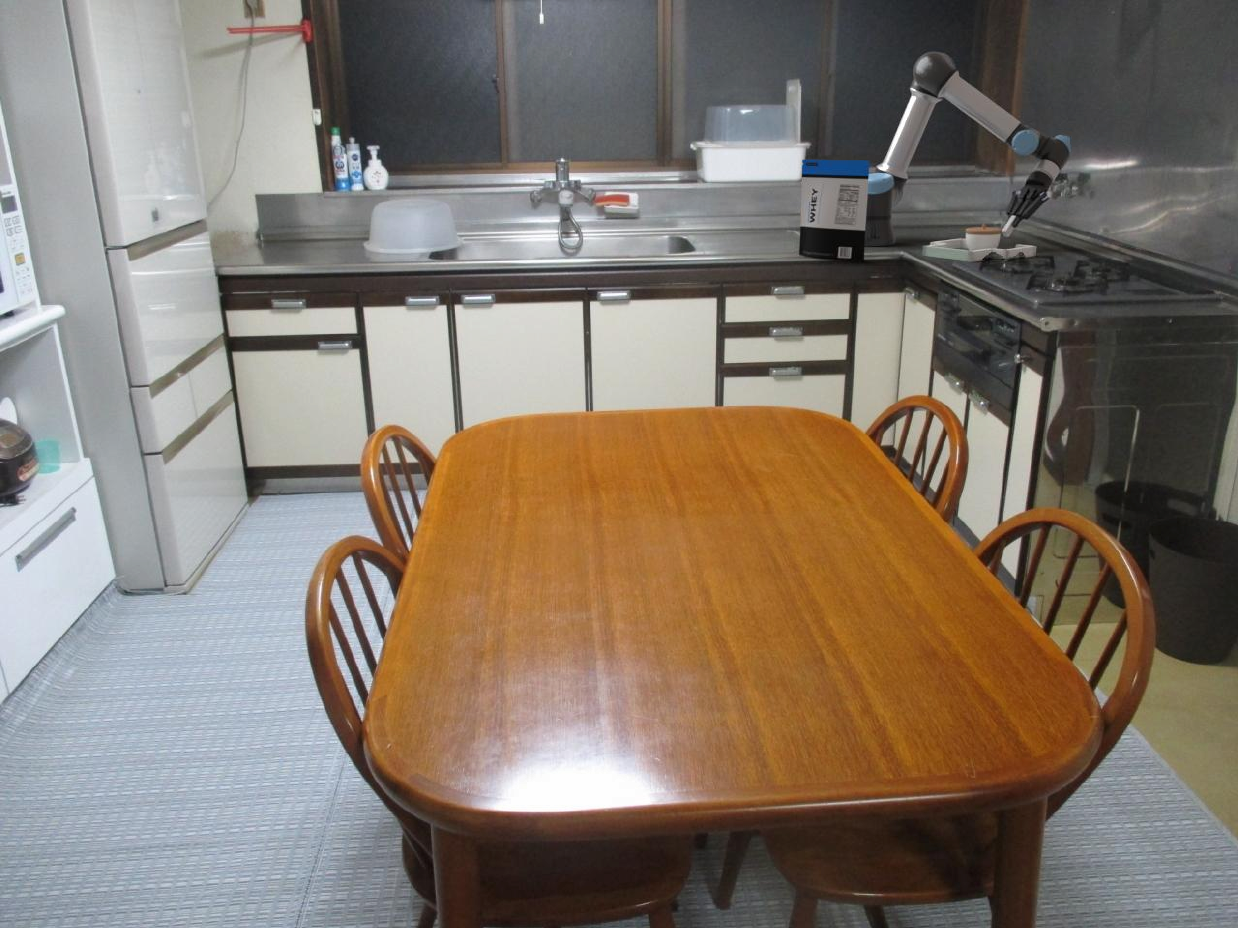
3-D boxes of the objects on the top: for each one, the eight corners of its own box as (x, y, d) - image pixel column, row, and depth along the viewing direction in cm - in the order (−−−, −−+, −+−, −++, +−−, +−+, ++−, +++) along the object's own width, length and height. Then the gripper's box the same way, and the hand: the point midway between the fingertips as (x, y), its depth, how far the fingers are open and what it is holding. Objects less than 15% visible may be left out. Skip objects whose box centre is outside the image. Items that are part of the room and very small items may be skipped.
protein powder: (855, 262, 316) (861, 161, 306) (790, 256, 332) (793, 160, 322) (871, 259, 322) (877, 160, 312) (807, 253, 338) (810, 159, 329)
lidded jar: (994, 251, 332) (997, 222, 329) (1002, 256, 322) (1005, 225, 319) (960, 251, 333) (963, 222, 330) (967, 256, 323) (970, 226, 320)
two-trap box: (909, 254, 330) (910, 244, 329) (959, 247, 343) (960, 238, 342) (984, 263, 307) (985, 253, 306) (1035, 256, 320) (1036, 246, 319)
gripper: (1063, 186, 332) (1026, 243, 328) (1028, 185, 342) (992, 240, 339) (1055, 170, 327) (1018, 227, 324) (1020, 169, 337) (983, 225, 334)
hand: (1005, 234), depth 331 cm, fingers closed
